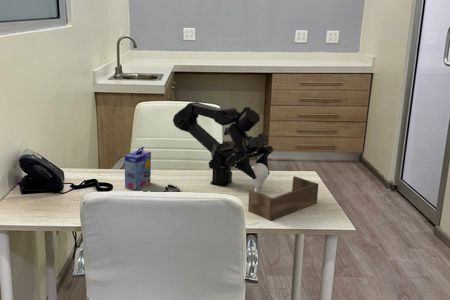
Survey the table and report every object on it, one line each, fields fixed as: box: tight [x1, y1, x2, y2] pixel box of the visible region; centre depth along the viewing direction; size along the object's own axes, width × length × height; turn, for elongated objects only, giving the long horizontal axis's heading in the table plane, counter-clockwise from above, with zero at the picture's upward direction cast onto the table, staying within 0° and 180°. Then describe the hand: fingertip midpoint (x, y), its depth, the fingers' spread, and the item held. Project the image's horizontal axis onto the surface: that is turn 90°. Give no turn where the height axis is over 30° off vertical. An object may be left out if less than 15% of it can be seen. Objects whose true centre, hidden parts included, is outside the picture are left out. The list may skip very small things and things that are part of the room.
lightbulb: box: [251, 162, 269, 194], centre depth 156 cm, size 6×6×11 cm
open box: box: [247, 175, 319, 222], centre depth 148 cm, size 10×23×7 cm, turn 133°
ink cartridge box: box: [124, 146, 152, 191], centre depth 164 cm, size 10×6×14 cm, turn 158°
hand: (261, 176), depth 154 cm, fingers closed on lightbulb, 6 cm apart
